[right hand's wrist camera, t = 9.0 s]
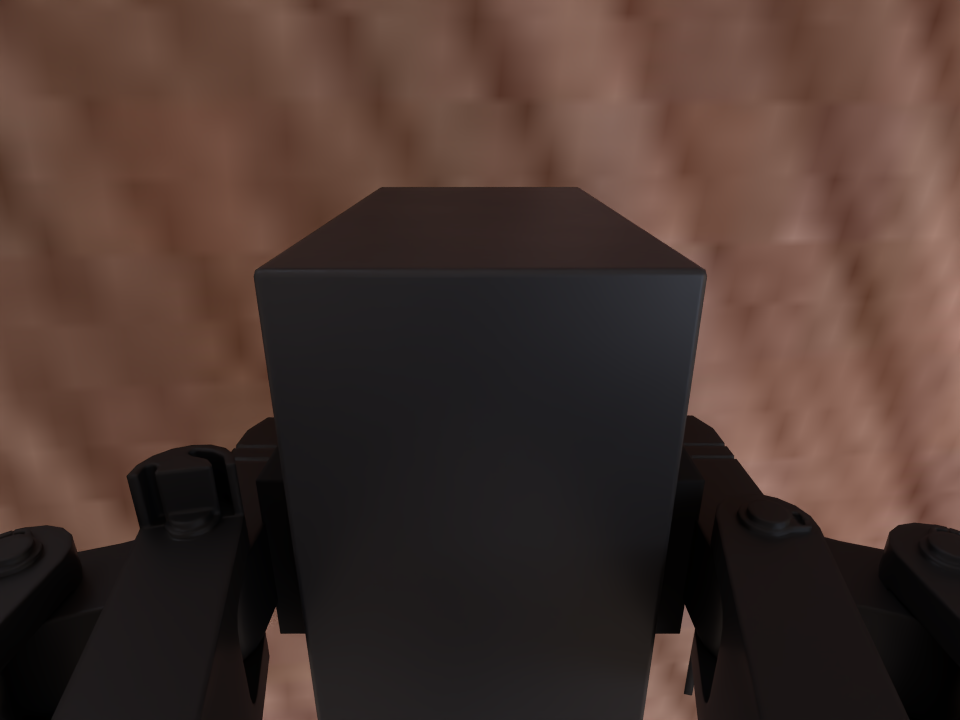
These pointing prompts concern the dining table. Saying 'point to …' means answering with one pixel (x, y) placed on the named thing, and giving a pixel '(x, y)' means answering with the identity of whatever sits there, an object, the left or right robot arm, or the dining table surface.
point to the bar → (480, 449)
